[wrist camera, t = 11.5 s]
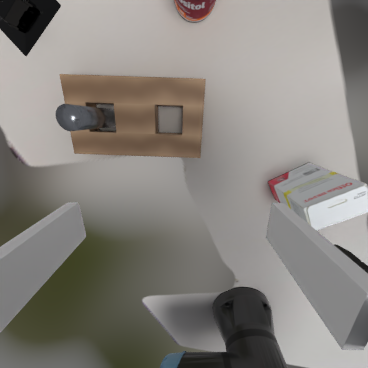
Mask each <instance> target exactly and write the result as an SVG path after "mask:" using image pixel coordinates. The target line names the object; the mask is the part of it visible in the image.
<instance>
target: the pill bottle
mask: <svg viewBox="0 0 368 368" xmlns="http://www.w3.org/2000/svg"><path fill="white" fill-rule="evenodd" d="M174 1H175V5H176V8H177V10H178V12H179V13H180V15H181V16H182V17H183V18H185V19H186V20H188V21H191V22H198V21H201V20H203V19H205V18H206V17H207V16H208V15H209V14H210V12H211V11H212V9H213V7H214V4H215V1H216V0H174Z"/></svg>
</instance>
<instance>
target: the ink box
mask: <svg viewBox="0 0 368 368" xmlns="http://www.w3.org/2000/svg"><path fill="white" fill-rule="evenodd" d="M268 184H269V186H270V188H271V191H272V193H273V195H274V198H275V199H276V200H277V201H278V202H279V203H284V204H285V205H287V206H288V207H289V208H290V209H291V210H293V211H294V212H295V213H296V214H297V215H298V216H300V217H301V218H302V219H303V220H304V221H306V222H307V223H308V224H309V225H310V226H312V227H313V228H314V229H315V230H316V231H317V230H320V229H322V228H325V227H328V226H331V225H334V224H336V223H339V222H342V221H345V220H348V219H351V218H353V217H356V216H359V215H362V214H365V213H368V188H367V184H365V183H363V182H360V181H357V180H355V179H352V178H349V177H347V176H344V175H341V174H338V173H335V172H333V171H330V170H327V169H325V168H322V167H319V166H317V165H314V164H311V163H307V164H305V165H303V166H300V167H298V168H296V169H294V170H292V171H290V172H288V173H285V174H283V175H281V176H279V177H277V178H274V179H272V180H270V181H268Z"/></svg>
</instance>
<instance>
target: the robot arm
mask: <svg viewBox="0 0 368 368" xmlns="http://www.w3.org/2000/svg"><path fill="white" fill-rule="evenodd" d="M85 237H86V234H85V228H84V224H83V219H82V215H81V210H80V206H79V203H78V202H68V203H66V204H65V205H63V206H62V207H60V208H58V209H57V210H55V211H54V212H52V213H51V214H49V215H48V216H46V217H45V218H43V219H42V220H40V221H39V222H37V223H36V224H34V225H33V226H32V227H30V228H28V229H27V230H25V231H24V232H22V233H21V234H19V235H18V236H16V237H15V238H13V239H12V240H10V241H9V242H7V243H6V244H4V245H3V246H1V247H0V332H1V331H2V330H3V329H4V328H5V327H6V326H7V324H8V323H9V322H10V321H11V320H12V319H13V318H14V316H15V315H16V314H17V313H18V312H19V311H20V310H21V309H22V308H23V307H24V305H25V304H26V303H27V302H28V301H29V300H30V298H31V297H33V295H34V294H35V293H36V292H37V291H38V290H39V289H40V288H41V286H42V285H43V284H44V283H45V282H46V281H47V280H48V278H50V276H51V275H52V274H53V273H54V272H55V271H56V270H57V268H58V267H59V266H60V265H61V264H62V263H63V262H64V261H65V260H66V258H67V257H68V256H69V255H70V254H71V253H72V252H73V251H74V250H75V248H76V247H77V246H78V245H79V244H80V243H81V242H82V241H83V239H84V238H85ZM266 239H267V240H268V241H269V243H270V244H271V246H272V247H273V249H274V250H275V252H276V253H277V255H278V256H279V258H280V259H281V261H282V262H283V264H284V265H285V266H286V268H287V269H288V271H289V272H290V274H291V275H292V277H293V278H294V280H295V281H296V283H297V284H298V286H299V287H300V288H301V290H302V291H303V293H304V294H305V296H306V297H307V299H308V300H309V302H310V303H311V305H312V306H313V308H314V309H315V311H316V312H317V313H318V315H319V316H320V318H321V319H322V321H323V322H324V324H325V325H326V327H327V328H328V330H329V331H330V333H331V334H332V336H333V337H334V338H335V340H336V341H337V343H338V344H339V346H340V347H341V349H342V350H364V348H365V346H366V344H367V342H368V266H367V265H366V264H365V263H363V262H361V260H360V259H358V258H357V257H356V256H355V255H353V254H352V253H351V252H349V251H347V250H346V249H344V248H342V247H340V246H338V245H333V244H332V243H331V242H330V241H328V240H327V239H326V238H325V237H324V236H322V235H321V234H320V233H319V232H318V231H316V230H315V229H314V228H313V227H312V226H310V225H309V224H308V223H307V222H306V221H304V220H303V219H302V218H301V217H300V216H298V215H297V214H296V213H295V212H294V211H293V210H291V209H290V208H289V207H288V206H287V205H285V204H284V203H272V205H271V211H270V217H269V222H268V228H267V234H266ZM213 313H214V319H215V322H216V324H217V326H218V329H219V331H220V333H221V335H222V338H223V340H224V342H225V346H226V352H186V351H183V352H182V353H171V354H168V355H167V356H166V357H165V358H164V359H163V361H162V363H161V366H160V368H288V367H287V365H286V362H285V360H284V358H283V355H282V353H281V350H280V348H279V345H278V343H277V340H276V338H275V335H274V327H273V318H272V310H271V307H270V305H269V302H268V300H267V298H266V297H265V295H264V294H262V293H261V292H259V291H257V290H255V289H251V288H235V289H231V290H228V291H226V292H224V293H222V294H221V295H220V296H219V297H218V298H217V299H216V300H215V302H214V305H213Z"/></svg>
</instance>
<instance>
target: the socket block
mask: <svg viewBox="0 0 368 368" xmlns="http://www.w3.org/2000/svg"><path fill="white" fill-rule="evenodd" d="M60 79H61V84H62V90H63V95H64V100H65V104H71V105H80V106H88V107H96V104H114V113H115V123H116V131H102V130H99V128H96V129H87V130H79V131H70V132H71V137H72V142H73V148H74V153H75V154H104V155H132V156H161V157H162V156H163V157H189V158H200V155H201V140H202V124H203V109H204V94H205V79H193V78H162V77H131V76H100V75H69V74H60ZM158 106H175V107H183V127H182V133H161V132H159V129H158Z"/></svg>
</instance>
